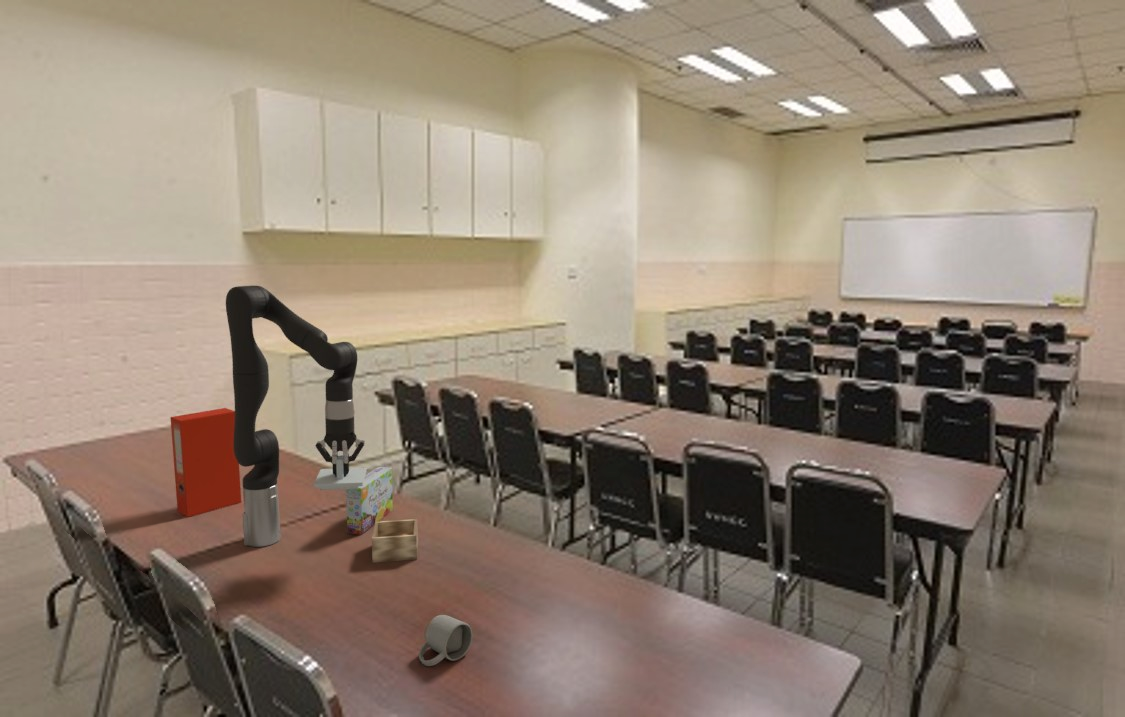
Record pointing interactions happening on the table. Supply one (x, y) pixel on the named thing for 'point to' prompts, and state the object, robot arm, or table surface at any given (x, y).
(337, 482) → the lid
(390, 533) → the box
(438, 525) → the table surface
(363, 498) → the snack box
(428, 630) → the ceramic mug
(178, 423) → the file binder
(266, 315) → the robot arm
